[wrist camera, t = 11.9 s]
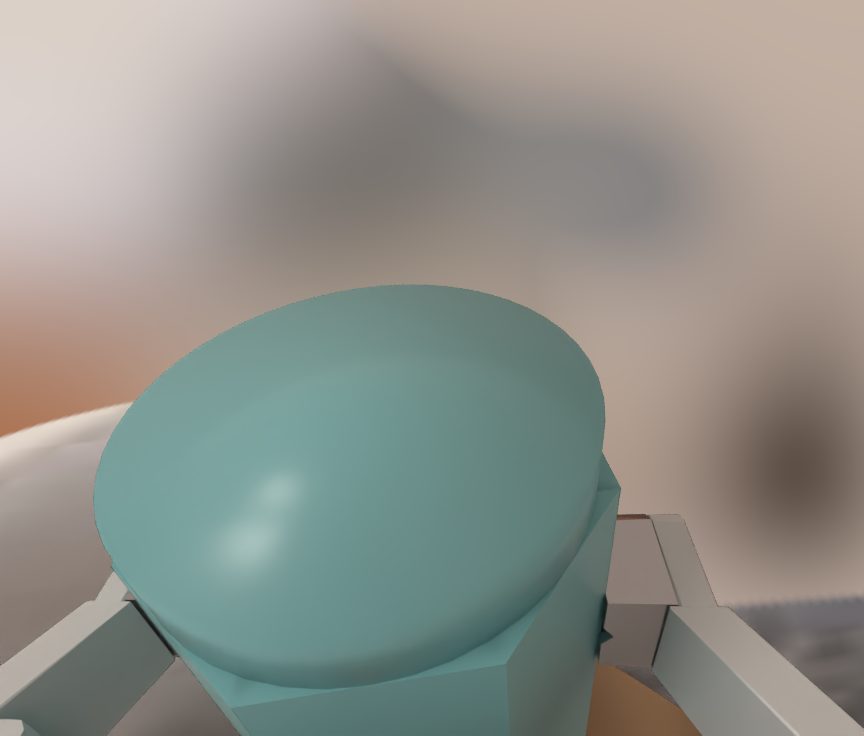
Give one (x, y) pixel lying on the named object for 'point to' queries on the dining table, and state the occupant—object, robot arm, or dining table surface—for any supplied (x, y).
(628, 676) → the square wooden board
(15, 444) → the dining table surface
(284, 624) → the teal octagonal jar
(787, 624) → the dining table surface
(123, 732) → the dining table surface
